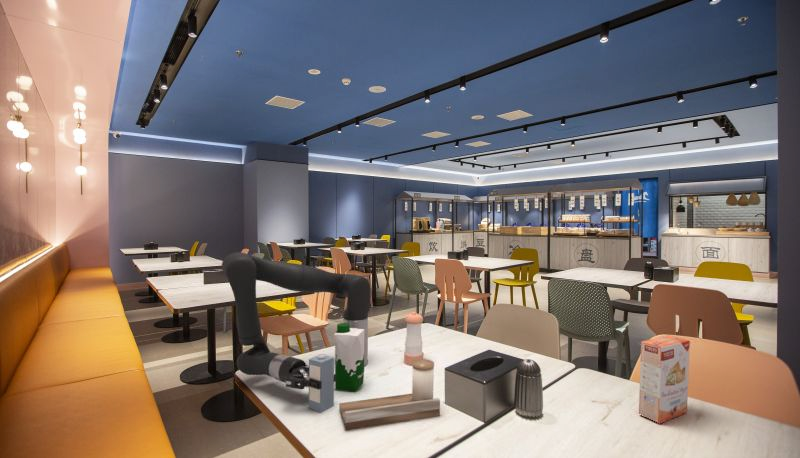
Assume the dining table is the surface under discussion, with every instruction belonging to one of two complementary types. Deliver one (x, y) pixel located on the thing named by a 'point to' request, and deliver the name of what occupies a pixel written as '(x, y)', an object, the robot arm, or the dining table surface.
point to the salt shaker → (413, 338)
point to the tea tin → (324, 372)
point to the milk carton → (349, 358)
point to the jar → (422, 380)
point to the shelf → (386, 411)
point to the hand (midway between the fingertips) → (327, 381)
